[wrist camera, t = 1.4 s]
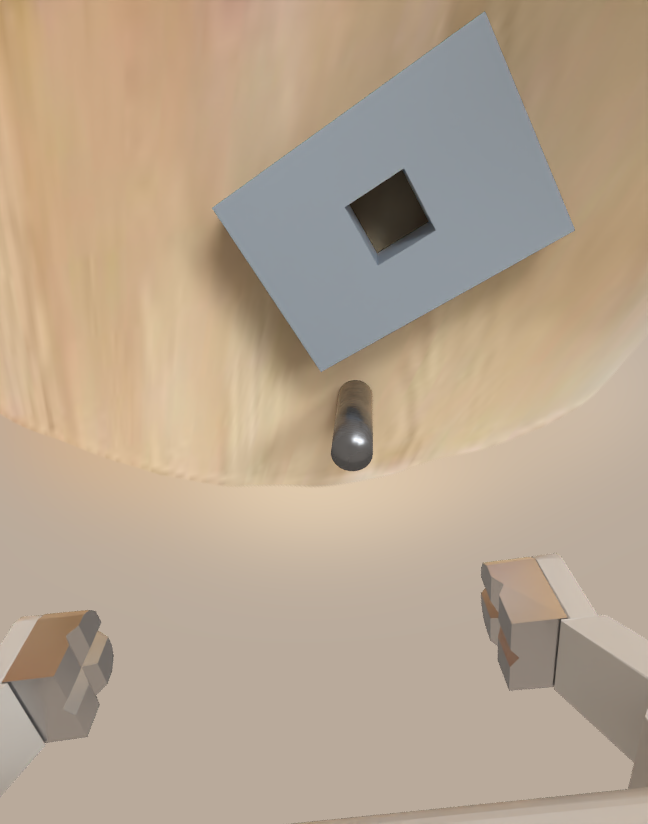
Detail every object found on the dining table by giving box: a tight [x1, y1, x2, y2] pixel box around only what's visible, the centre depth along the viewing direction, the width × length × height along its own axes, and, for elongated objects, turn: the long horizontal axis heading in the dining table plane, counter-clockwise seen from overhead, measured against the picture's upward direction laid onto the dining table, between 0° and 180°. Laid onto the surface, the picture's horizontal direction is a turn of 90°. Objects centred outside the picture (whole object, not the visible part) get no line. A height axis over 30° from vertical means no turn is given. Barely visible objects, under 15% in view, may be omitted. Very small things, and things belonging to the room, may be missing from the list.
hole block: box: [212, 11, 575, 372], centre depth 37 cm, size 20×14×5 cm
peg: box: [331, 380, 373, 471], centre depth 42 cm, size 3×3×10 cm
